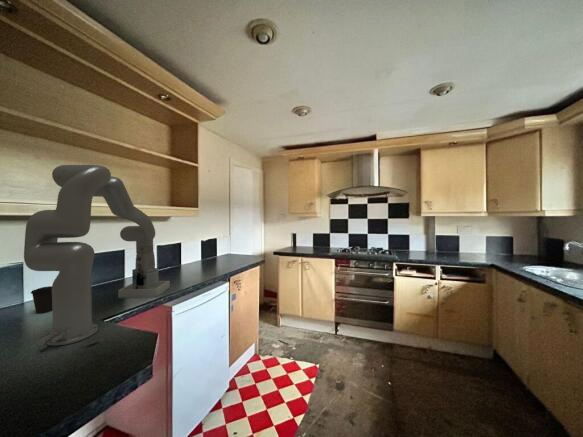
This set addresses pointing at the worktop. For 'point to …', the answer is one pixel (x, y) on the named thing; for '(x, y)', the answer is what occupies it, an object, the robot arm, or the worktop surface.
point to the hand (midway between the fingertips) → (145, 282)
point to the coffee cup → (42, 299)
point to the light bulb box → (147, 279)
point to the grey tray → (143, 291)
